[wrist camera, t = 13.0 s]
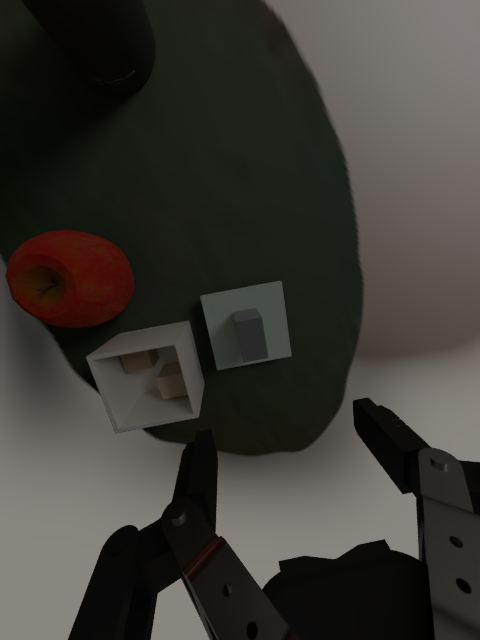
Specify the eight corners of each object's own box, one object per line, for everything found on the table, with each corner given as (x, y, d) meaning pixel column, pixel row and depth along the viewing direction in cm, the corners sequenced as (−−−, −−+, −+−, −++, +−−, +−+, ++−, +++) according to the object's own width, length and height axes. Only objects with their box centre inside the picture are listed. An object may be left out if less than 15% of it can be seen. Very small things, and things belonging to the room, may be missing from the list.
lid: (202, 294, 32) (195, 304, 25) (277, 279, 32) (292, 285, 25) (217, 363, 35) (216, 389, 28) (287, 349, 35) (302, 373, 28)
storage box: (119, 333, 32) (85, 357, 25) (189, 320, 33) (178, 339, 25) (139, 395, 35) (115, 433, 27) (204, 382, 35) (198, 417, 28)
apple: (37, 268, 30) (-62, 273, 19) (100, 214, 29) (30, 190, 18) (99, 331, 32) (41, 365, 22) (159, 285, 31) (127, 298, 21)
